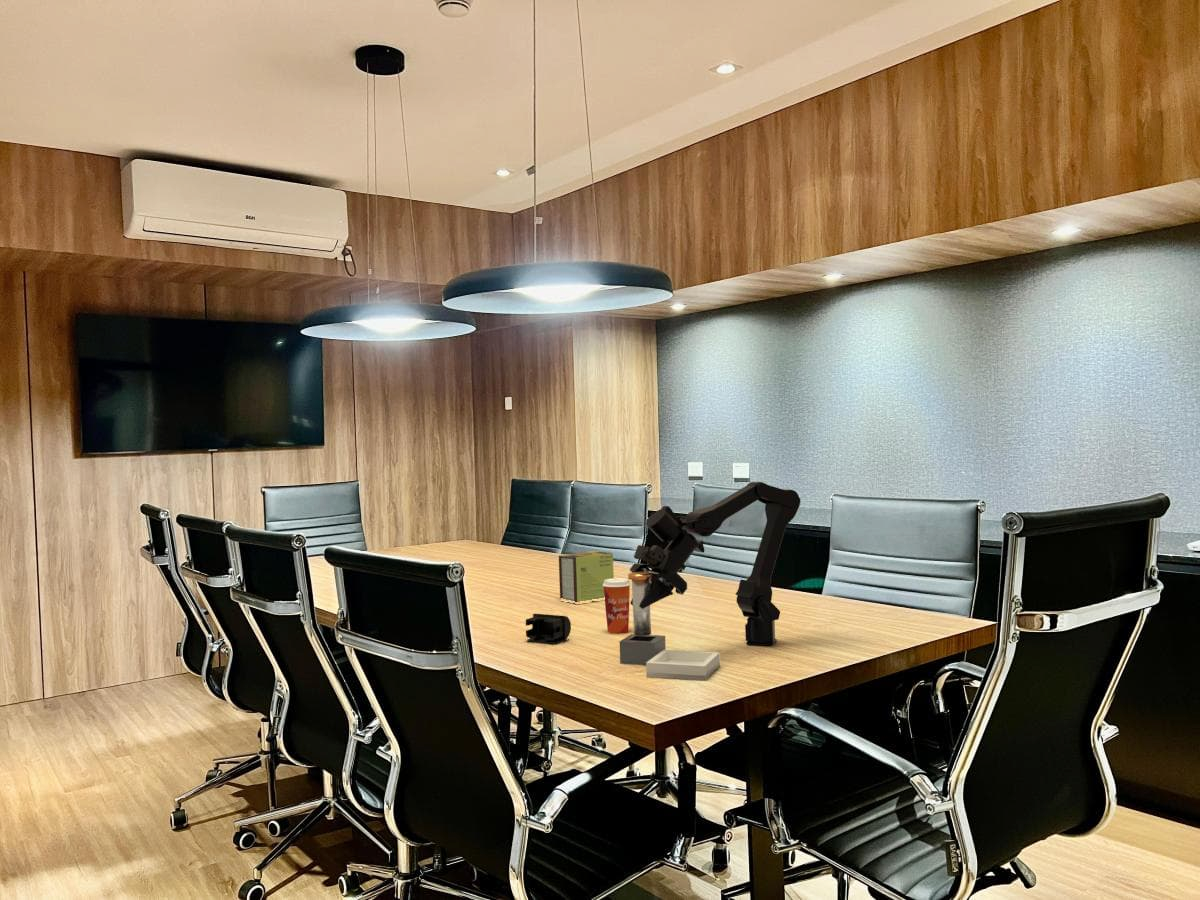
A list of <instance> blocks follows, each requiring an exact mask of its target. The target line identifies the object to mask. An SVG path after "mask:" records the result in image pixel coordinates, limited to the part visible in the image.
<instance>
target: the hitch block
mask: <svg viewBox="0 0 1200 900" xmlns="http://www.w3.org/2000/svg"><path fill="white" fill-rule="evenodd" d="M618 643H619V664H627V665H628V664H629V665H645V666H646V662H648V661H649V660H650V659H652V658H653V657H654V656H656V655H657V654H659V653H660V652H661V651H663V650H667V648H666V647H667V646H666V635H659V634H650V635H646V636H637V635H634V633H632V634H631V633H630V634H629V635H628V636H626V637H625V638H623V639H621V640H620V641H619V642H618Z"/></svg>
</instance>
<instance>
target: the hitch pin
mask: <svg viewBox="0 0 1200 900" xmlns="http://www.w3.org/2000/svg"><path fill="white" fill-rule="evenodd" d="M651 576H652V573H651V572H633V573H632V572H630V573H628V574H627V579H628V580H629V581H630V580H631V591H632V597H631V598H633V606H632V617H633V621H632V622H633V634H634V635H637V636H646V635H652V622H651V621H652V620H651V605H649V606H647V607H645V608H644V609H642V608H640V607H639V605H640V603H641V601H642V599H643V598H644V596H645V595H646V593H647V591H648V590H649V579H651Z"/></svg>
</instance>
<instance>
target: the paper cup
mask: <svg viewBox="0 0 1200 900" xmlns="http://www.w3.org/2000/svg"><path fill="white" fill-rule="evenodd" d="M603 586H604V595H605V601H604V605H605V607H604V608H605V609H604V610H605V615H606V626H607V632H609V634H615V635H616V634H617V635H618V634H620V633H622V634H626V633H628V632H629V629H630V628H629V625H630V592H631V591H630V589H631V587H630V586H632V583H631V582H630V579H628V578H620V577H619V578H617V577H616V578H614V579H606V580H604V584H603ZM620 635H621V634H620Z"/></svg>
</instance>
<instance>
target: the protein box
mask: <svg viewBox="0 0 1200 900" xmlns="http://www.w3.org/2000/svg"><path fill="white" fill-rule="evenodd" d="M558 570H559V571H558V575H559V576H558V577H559V579H558V581H559V599H560V598H563V599H566V600H571V601H575V602H580V601H586V600H592V599H599V598H604V597H605V595H604V586H603V584H604V580H606V579H614V576H615V575H614V574H615V573H614V553H613V552H607V551H606V552H605V551H598V550H591V551H585V552H574V553H566V554H559V555H558Z"/></svg>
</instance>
